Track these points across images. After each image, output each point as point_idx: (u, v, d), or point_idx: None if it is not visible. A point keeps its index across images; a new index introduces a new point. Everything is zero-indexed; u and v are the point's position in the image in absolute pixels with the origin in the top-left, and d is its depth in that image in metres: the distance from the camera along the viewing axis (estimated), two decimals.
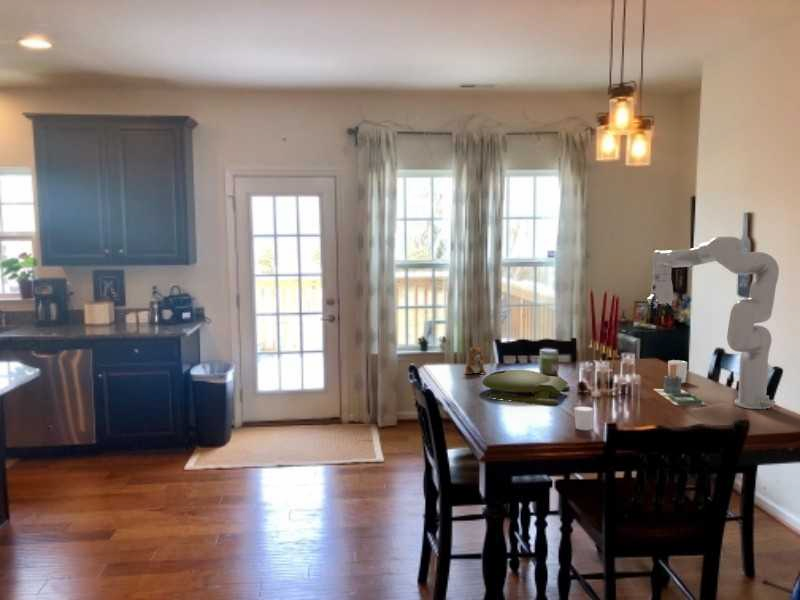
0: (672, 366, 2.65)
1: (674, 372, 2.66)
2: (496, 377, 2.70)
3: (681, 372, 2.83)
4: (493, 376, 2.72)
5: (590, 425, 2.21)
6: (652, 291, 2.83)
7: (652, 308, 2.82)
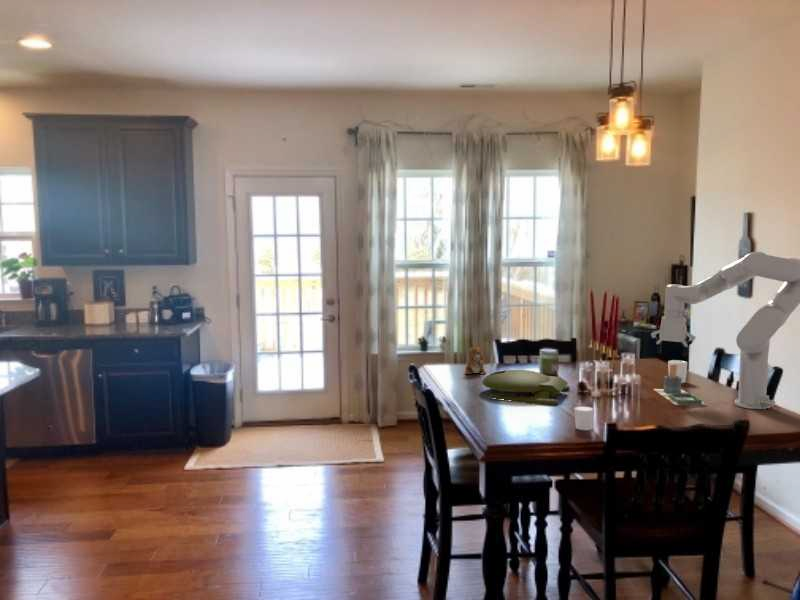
0: (672, 366, 2.65)
1: (674, 372, 2.65)
2: (496, 377, 2.70)
3: (681, 372, 2.83)
4: (493, 376, 2.72)
5: (590, 425, 2.21)
6: (685, 329, 2.62)
7: (687, 347, 2.63)
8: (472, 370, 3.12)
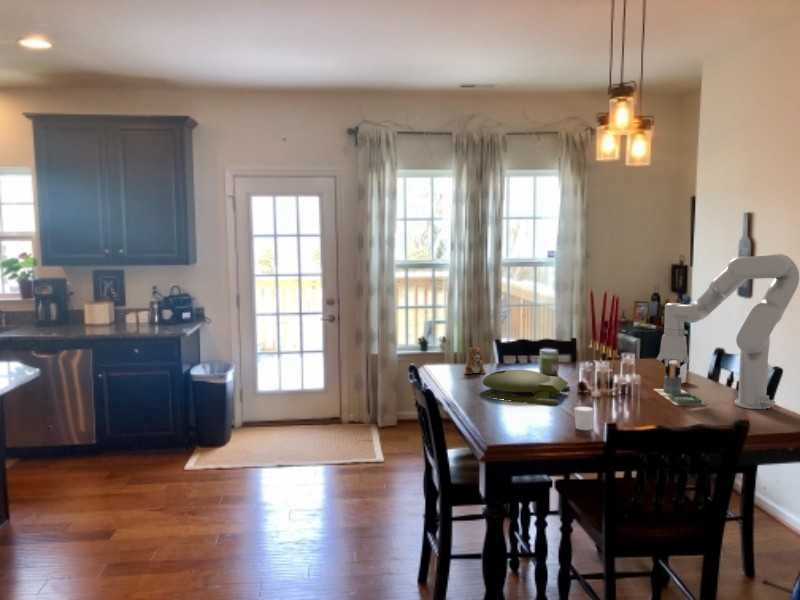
0: (672, 366, 2.65)
1: (674, 372, 2.66)
2: (497, 377, 2.70)
3: (681, 372, 2.83)
4: (493, 376, 2.73)
5: (590, 425, 2.21)
6: (685, 347, 2.62)
7: None
8: (472, 370, 3.12)
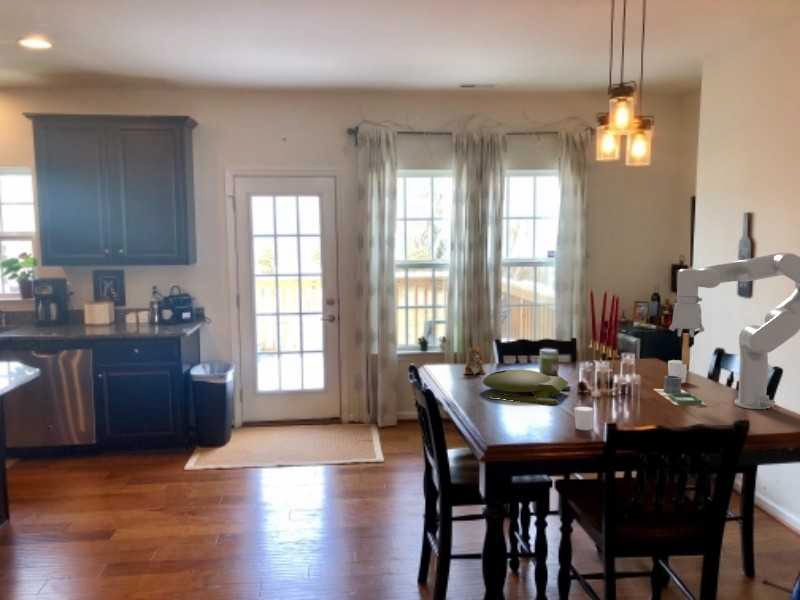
0: (685, 336, 2.51)
1: (688, 342, 2.51)
2: (497, 376, 2.71)
3: (681, 372, 2.83)
4: (493, 376, 2.73)
5: (590, 425, 2.21)
6: (700, 315, 2.48)
7: None
8: (471, 370, 3.12)
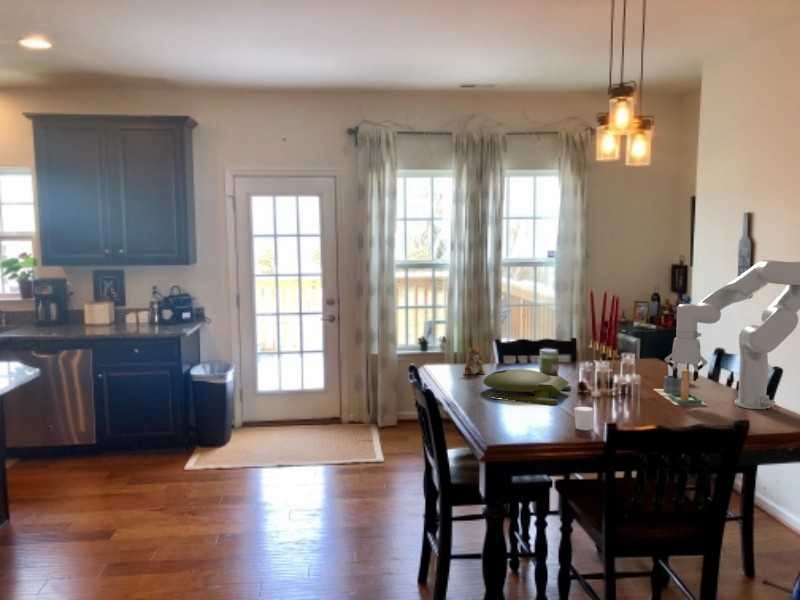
0: (685, 372, 2.52)
1: (687, 379, 2.52)
2: (497, 376, 2.71)
3: (681, 372, 2.83)
4: (494, 375, 2.74)
5: (590, 425, 2.21)
6: (699, 351, 2.49)
7: None
8: (471, 370, 3.12)
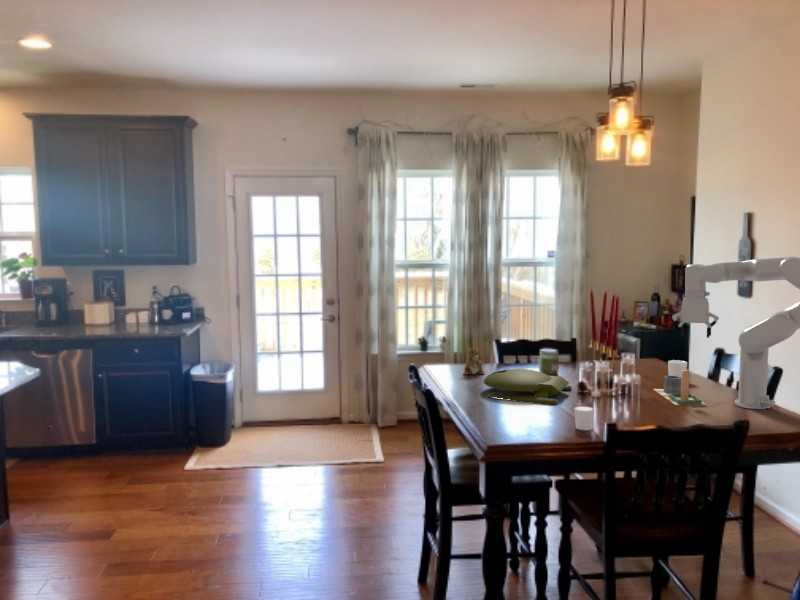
0: (685, 372, 2.52)
1: (687, 379, 2.52)
2: (497, 376, 2.72)
3: (681, 372, 2.83)
4: (494, 375, 2.74)
5: (590, 425, 2.21)
6: (708, 309, 2.54)
7: None
8: (471, 370, 3.12)
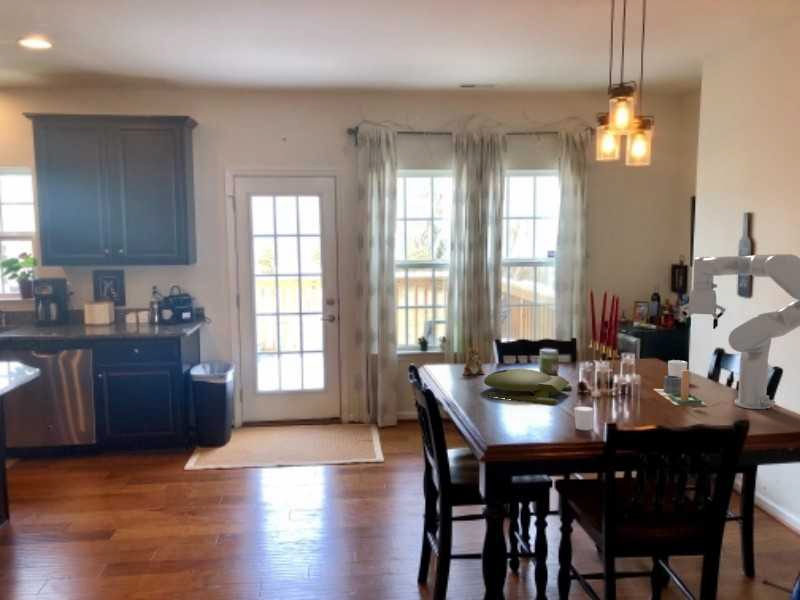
0: (685, 372, 2.52)
1: (687, 379, 2.52)
2: (497, 376, 2.72)
3: (681, 372, 2.83)
4: (494, 375, 2.75)
5: (590, 425, 2.21)
6: (715, 301, 2.61)
7: (717, 319, 2.62)
8: (471, 370, 3.12)
